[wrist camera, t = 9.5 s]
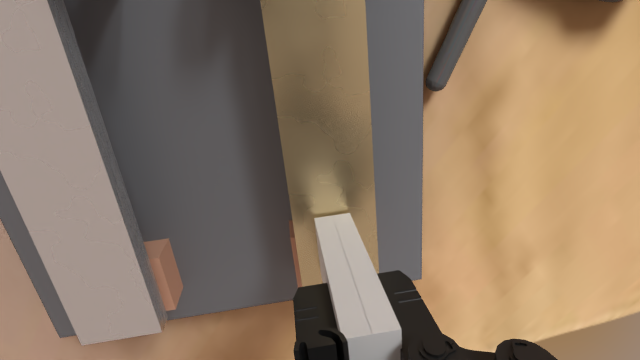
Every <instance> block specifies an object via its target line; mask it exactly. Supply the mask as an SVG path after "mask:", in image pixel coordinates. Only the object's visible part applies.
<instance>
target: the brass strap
mask: <svg viewBox="0 0 640 360" xmlns="http://www.w3.org/2000/svg"><path fill="white" fill-rule="evenodd" d="M260 2H261V9H262V16H263V23H264V30H265V36H266V43H267V50H268V57H269V64H270V70H271V77H272V84H273V91H274V98H275V105H276V111H277V118H278V125H279V132H280V139H281V145H282V152H283V159H284V166H285V173H286V179H287V186H288V193H289V200H290V207H291V213H292V220H293V227H294V234H295V241H296V247H297V254H298V261H299V268H300V275H301V281H302V287H304V286H310V285H316V284H322V283H323V281H322V276H321V270H320V262H319V254H318V245H317V237H316V229H315V221H314V218H318V217H325V216H332V215H339V214H345V213H350V215H351V217H352V219H353V221H354V224H355V226H356V228H357V230H358V233H359V235H360V237H361V239H362V242H363V244H364V246H365V248H366V251H367V253H368V255H369V257H370V260H371V262H372V264H373V266H374V269H375V271H376V273H377V274H378V273H379V261H378V241H377V221H376V202H375V182H374V163H373V143H372V124H371V104H370V84H369V65H368V45H367V26H366V6H365V0H260Z"/></svg>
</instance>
